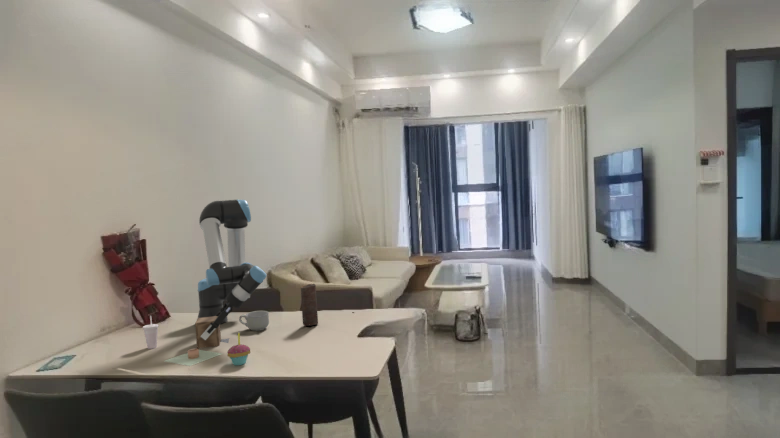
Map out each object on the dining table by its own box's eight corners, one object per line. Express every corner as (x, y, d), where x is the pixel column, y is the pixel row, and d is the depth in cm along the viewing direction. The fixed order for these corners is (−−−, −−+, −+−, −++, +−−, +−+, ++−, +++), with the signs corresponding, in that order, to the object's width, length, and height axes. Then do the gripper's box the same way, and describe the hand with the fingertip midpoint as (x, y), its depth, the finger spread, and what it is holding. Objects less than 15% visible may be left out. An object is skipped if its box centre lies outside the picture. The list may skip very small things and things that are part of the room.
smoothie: (163, 345, 231) (160, 314, 230) (152, 349, 225) (149, 318, 224) (152, 345, 233) (149, 314, 232) (140, 349, 227) (138, 317, 226)
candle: (316, 327, 247) (314, 285, 246) (301, 328, 248) (298, 286, 247) (319, 323, 255) (316, 282, 254) (304, 324, 255) (301, 283, 254)
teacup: (272, 326, 255) (271, 310, 254) (265, 332, 244) (264, 315, 243) (245, 327, 256) (244, 311, 256) (236, 333, 245) (235, 316, 245)
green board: (163, 362, 205) (163, 361, 205) (197, 350, 219) (197, 349, 219) (189, 367, 197) (189, 365, 197) (223, 355, 211) (223, 353, 211)
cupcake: (231, 360, 203) (228, 330, 202) (253, 358, 203) (250, 328, 203) (225, 368, 194) (223, 336, 193) (249, 366, 195) (246, 334, 194)
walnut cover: (197, 348, 221) (195, 323, 220) (199, 342, 231) (198, 318, 230) (219, 346, 223) (217, 320, 223) (221, 339, 233) (219, 315, 232)
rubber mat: (188, 351, 219) (188, 350, 219) (191, 343, 231) (191, 342, 231) (227, 346, 223) (227, 345, 223) (229, 339, 235) (229, 338, 235)
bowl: (185, 358, 207) (185, 350, 207) (194, 355, 211) (194, 347, 211) (192, 359, 205) (192, 351, 205) (201, 356, 209) (200, 348, 209)
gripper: (243, 307, 218) (208, 347, 215) (245, 296, 242) (214, 332, 239) (229, 296, 216) (194, 336, 213) (232, 286, 240) (200, 322, 237)
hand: (204, 334), depth 226 cm, fingers open, 13 cm apart
